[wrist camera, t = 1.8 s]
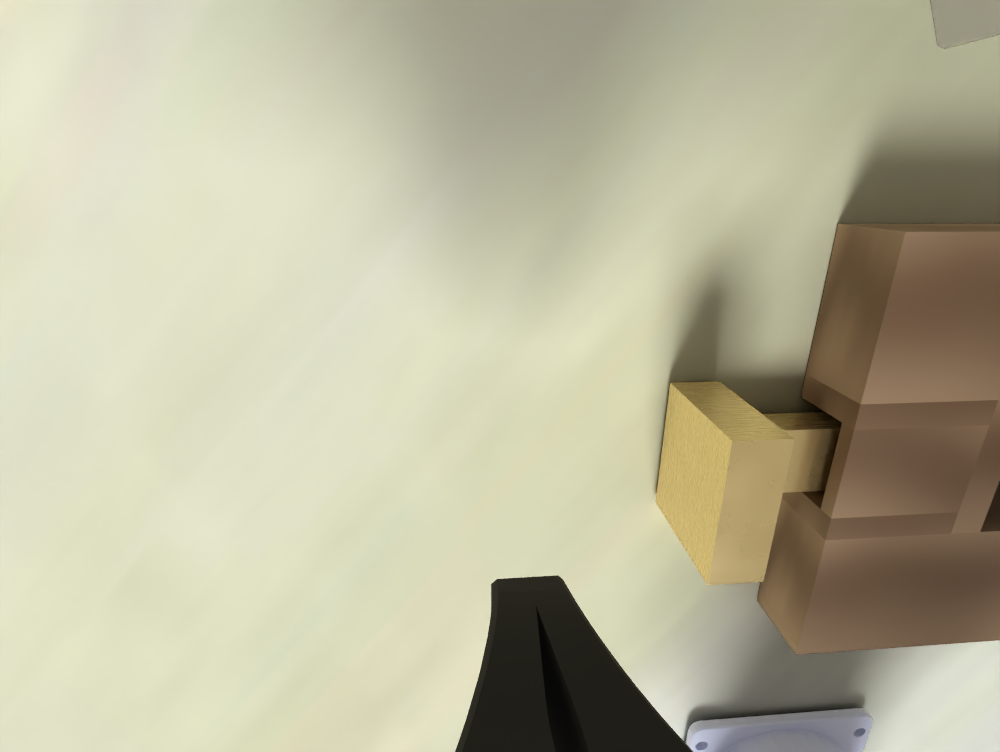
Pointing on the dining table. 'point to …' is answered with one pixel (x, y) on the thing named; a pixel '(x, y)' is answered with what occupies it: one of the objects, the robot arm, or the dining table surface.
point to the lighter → (965, 21)
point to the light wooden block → (735, 475)
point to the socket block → (899, 448)
